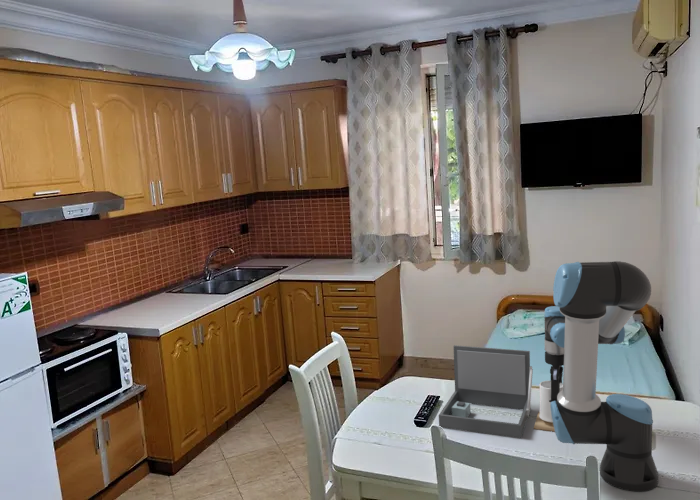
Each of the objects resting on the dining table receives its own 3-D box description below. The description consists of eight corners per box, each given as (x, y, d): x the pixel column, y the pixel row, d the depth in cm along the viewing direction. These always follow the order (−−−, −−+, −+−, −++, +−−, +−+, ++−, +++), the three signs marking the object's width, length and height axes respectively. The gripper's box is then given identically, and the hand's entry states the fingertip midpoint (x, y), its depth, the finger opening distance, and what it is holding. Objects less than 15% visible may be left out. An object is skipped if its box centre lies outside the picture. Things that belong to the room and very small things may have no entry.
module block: (465, 420, 210) (464, 407, 209) (452, 417, 212) (451, 405, 212) (470, 413, 215) (470, 401, 214) (457, 411, 218) (457, 399, 217)
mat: (577, 434, 194) (577, 433, 193) (533, 429, 199) (533, 428, 199) (579, 417, 206) (579, 416, 206) (538, 412, 212) (538, 411, 212)
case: (524, 438, 193) (523, 373, 190) (439, 427, 205) (436, 365, 202) (533, 410, 215) (532, 351, 211) (456, 401, 227) (454, 345, 223)
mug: (574, 414, 205) (574, 381, 203) (575, 424, 197) (575, 390, 195) (539, 411, 208) (539, 379, 207) (538, 421, 201) (538, 388, 199)
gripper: (565, 362, 188) (566, 428, 191) (570, 343, 207) (570, 404, 210) (541, 360, 191) (542, 425, 194) (548, 341, 210) (548, 401, 213)
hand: (556, 414), depth 202 cm, fingers closed on mug, 8 cm apart
